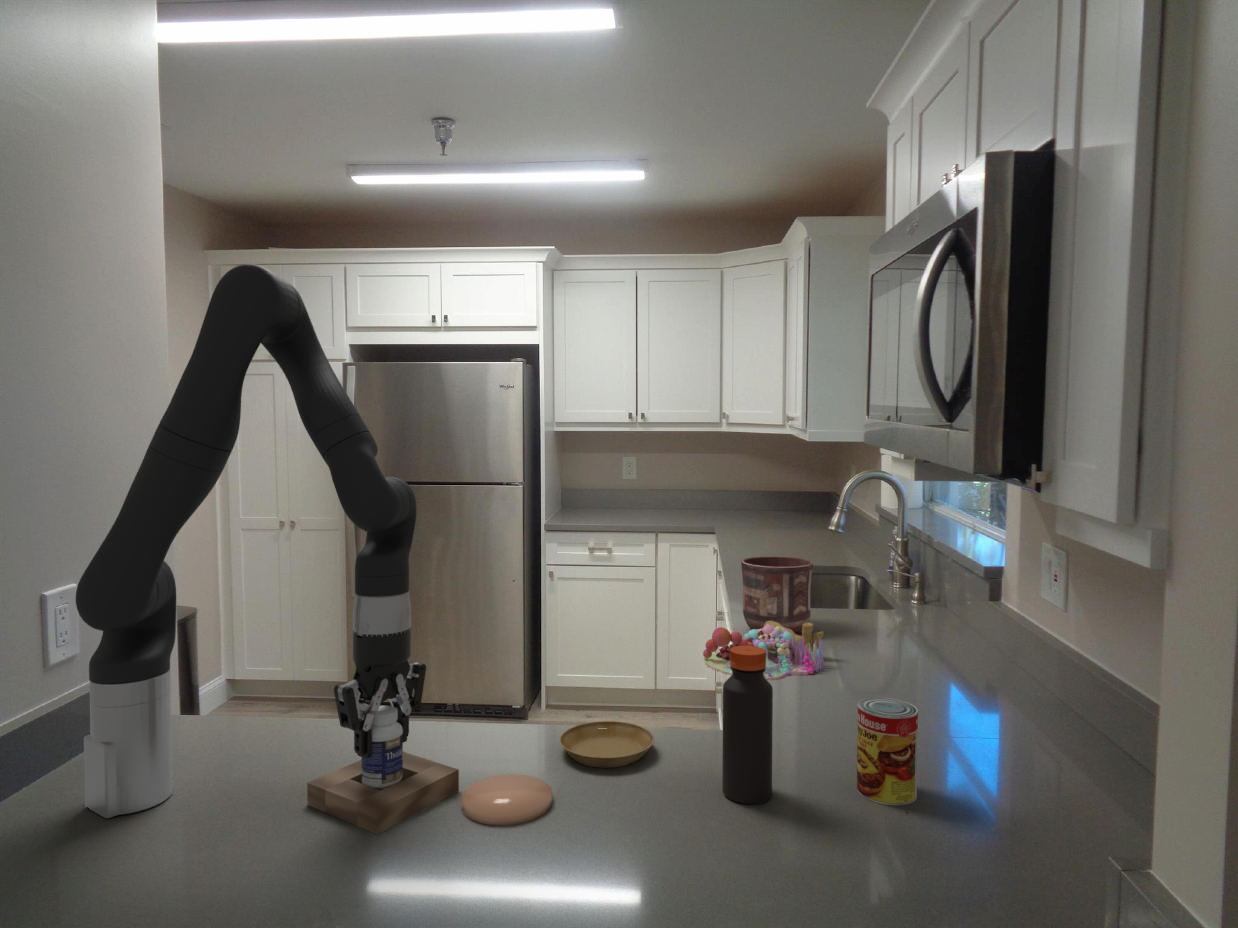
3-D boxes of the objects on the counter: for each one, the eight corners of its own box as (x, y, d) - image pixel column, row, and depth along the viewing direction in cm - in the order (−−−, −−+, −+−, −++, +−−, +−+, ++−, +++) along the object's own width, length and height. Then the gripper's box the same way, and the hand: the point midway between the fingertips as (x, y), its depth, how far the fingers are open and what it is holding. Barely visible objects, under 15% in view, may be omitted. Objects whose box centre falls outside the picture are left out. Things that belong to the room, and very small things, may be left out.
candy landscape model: (743, 643, 185) (743, 605, 184) (839, 660, 171) (839, 618, 171) (690, 669, 164) (690, 626, 164) (794, 690, 151) (794, 643, 150)
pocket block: (377, 834, 95) (377, 810, 95) (307, 804, 103) (307, 782, 103) (458, 790, 107) (458, 769, 107) (390, 767, 115) (390, 747, 114)
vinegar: (775, 786, 108) (776, 645, 108) (768, 808, 102) (769, 659, 101) (727, 779, 110) (728, 641, 110) (717, 800, 104) (718, 654, 103)
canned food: (848, 780, 110) (849, 697, 110) (901, 778, 111) (902, 696, 110) (870, 806, 102) (871, 717, 102) (927, 804, 103) (928, 716, 103)
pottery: (797, 644, 183) (798, 569, 182) (730, 634, 192) (730, 562, 192) (821, 629, 197) (822, 559, 197) (757, 620, 207) (758, 553, 206)
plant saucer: (542, 765, 116) (542, 748, 116) (582, 730, 130) (582, 715, 129) (634, 781, 110) (634, 763, 110) (666, 743, 124) (666, 727, 124)
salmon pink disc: (511, 834, 95) (511, 824, 95) (442, 808, 102) (442, 799, 102) (569, 796, 105) (569, 787, 105) (503, 775, 112) (503, 767, 112)
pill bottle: (390, 791, 102) (390, 718, 101) (353, 787, 103) (353, 715, 102) (409, 774, 107) (409, 705, 107) (374, 770, 108) (374, 701, 108)
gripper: (404, 611, 112) (404, 726, 113) (318, 632, 100) (318, 760, 101) (441, 618, 108) (440, 737, 109) (356, 640, 96) (356, 774, 97)
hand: (382, 748), depth 105 cm, fingers closed on pill bottle, 5 cm apart
